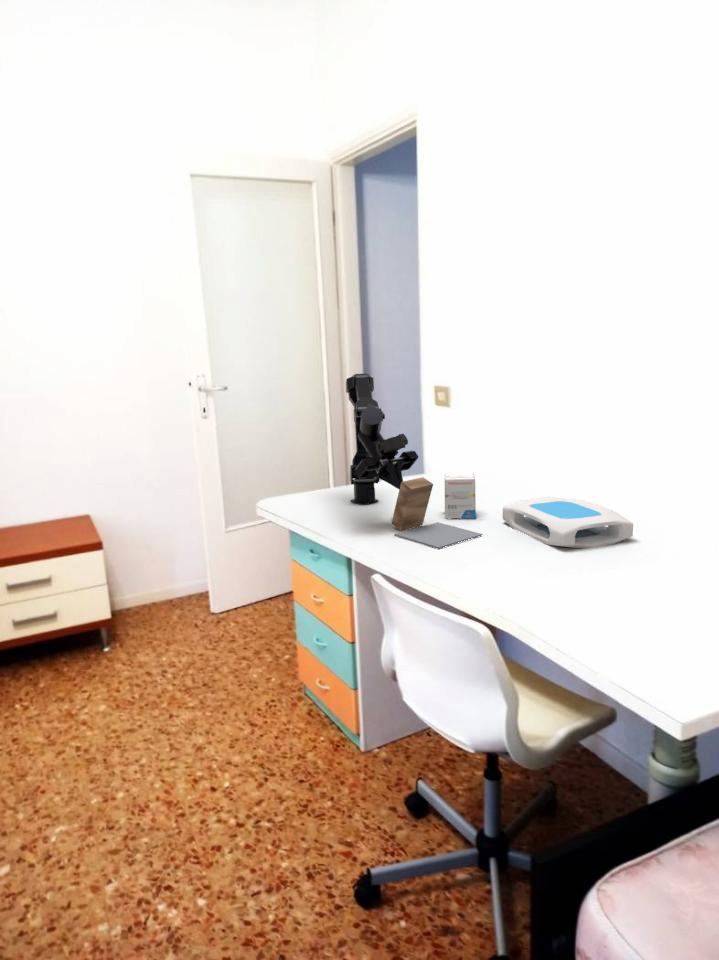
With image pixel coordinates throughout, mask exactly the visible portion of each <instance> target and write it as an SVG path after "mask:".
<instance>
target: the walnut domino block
mask: <svg viewBox="0 0 719 960" xmlns="http://www.w3.org/2000/svg"><path fill="white" fill-rule="evenodd" d="M433 486H434V484H433V482H431V481H429V480H428V479H427V478H426V477H423V476H422V477H417V478H413V479H409V480H408V479H407V480H403V482H401V485H400V489H398V490H399V491H398V494H397V497H396V502H395V508H394V510H393V513H392V514H393V515H392V518H391V519H392V520H391V523H390V524H391V525H392V526H394V528H396V529H397V530H399V532H404V531H407V530H411V529H414V528H413V527H415V528H418V527H421V526H420V525H422V526H424V519H425V516H426V513H427V509H428V505H429V502H430V498H431V493H432V491H433ZM417 526H418V527H417ZM410 528H411V529H410ZM406 529H407V530H406ZM403 530H404V531H403Z"/></svg>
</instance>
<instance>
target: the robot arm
mask: <svg viewBox="0 0 719 960" xmlns="http://www.w3.org/2000/svg"><path fill="white" fill-rule="evenodd" d="M374 382H375V381H374V377H372V376H371V375H370V374H369V373H355V374H353V375H352V376H350V377H348V378H346V380H345V394H347V395H348V401H349V402H350V403H351V404H352V406H353V421H354V429H355V430H354V431H355V450H356V452H355V454H354V456H353V458H352V460H351V465H350V466H349V467H350V468H349V482H350V485H353V492H354V493H353V495H354V499H350V503H354V502H355V503H354V504H358V503H359V505H362V504H365V505H369V504H374V503H377V502H379V499H377V498H376V487H375V484H379V483H380V480H382V481H384V482H386V483H387V484H389V485H391V486H393V487H394V488H396V489H397V490H399V489H400V485H401V482H403V481H404V478H403V474H402V473H403V471H407V470H410V469H411V468H412V467H413V465H414V464H415V463H416V462H417V460H418V459H419V455H418V453H417V452H416V451H415V450H408V451H402V453H401V454H400V455H399V450H401V449H405V448H406V446H407V445H409V441H408V438H407V436H406V435H405V434H404V433H399V434H398V435H396V436H392V437H391V436H390V437H388V438H386V439H384V437H383V435H382V434H381V431H382V424H383V422H384V420H385V419H386V414H385V413H384V412H383V411H382V409H381V408H380V407H379V403H378V401H377V400H375V399H373V395H372V393H373V392H374V390H375V384H374ZM398 455H399V456H398ZM396 456H398V457H396ZM373 502H374V503H373ZM368 503H369V504H368Z"/></svg>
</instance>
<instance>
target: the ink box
mask: <svg viewBox="0 0 719 960" xmlns="http://www.w3.org/2000/svg"><path fill="white" fill-rule="evenodd" d="M476 509H477V508H476V476H475V474H474V473H470V472H469V473H462V472H461V473H451V472H450V473H444V516H445V519H446V518H449V519H448V520H451V519H450V518H457V519H456V520H459V519H458V518H462V519H461V520H464V519H463V518H476V519H477V515H476Z"/></svg>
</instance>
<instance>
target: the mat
mask: <svg viewBox="0 0 719 960" xmlns="http://www.w3.org/2000/svg"><path fill="white" fill-rule="evenodd" d="M481 535H483V533H481V532H477V531H472V530H469V529H465V528H461V527H458V526H455V525H449V524H448V523H447V524H446V523H442V522H438V521H437V522H434V523H430V524H426V525H422V526H418V527H415V528H411V529H407V530H404V531H399V532H398V533H397V532H396V533H394V536H395V537H397V538H401V539H404V540H407V541H411V542H413V541H414V543H417V544H420V545H423V544H424V546H426V545H427V547H430V546H432V547H431V548H433V547H435V548H434V549H436V548H438V549H437V550H441V549H444V548H443V547H445V546H448V547H450V546H449V545H451V546H453V545H452V544H454V545H456V544H455V543H458V542H461V541H464V540H467V541H469V540H468V539H471V538H474V537H477V538H479V537H478V536H480V537H482V536H481ZM483 536H484V535H483ZM474 539H475V538H474ZM471 540H472V539H471ZM464 542H465V541H464ZM461 543H462V542H461ZM458 544H459V543H458ZM440 548H441V549H440ZM445 548H446V547H445Z"/></svg>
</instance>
